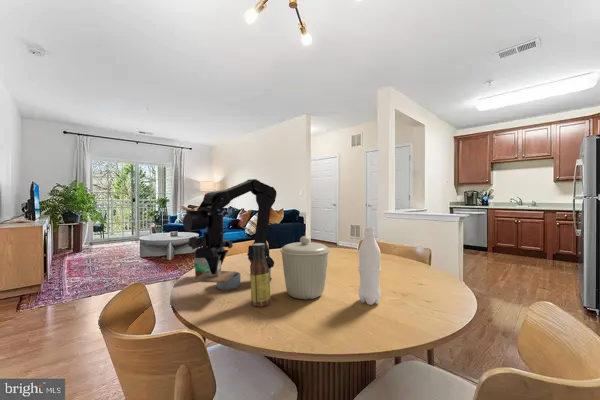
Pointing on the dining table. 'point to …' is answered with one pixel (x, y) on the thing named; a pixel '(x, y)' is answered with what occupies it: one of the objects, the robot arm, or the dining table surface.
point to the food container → (200, 266)
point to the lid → (215, 275)
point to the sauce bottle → (259, 277)
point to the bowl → (230, 283)
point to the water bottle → (369, 268)
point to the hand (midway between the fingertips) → (215, 272)
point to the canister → (305, 268)
